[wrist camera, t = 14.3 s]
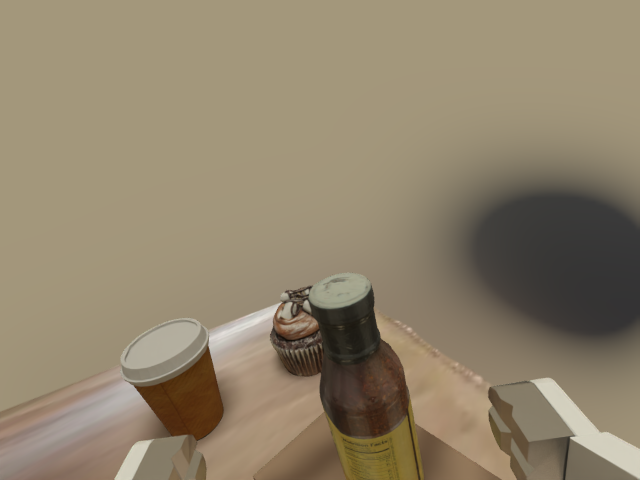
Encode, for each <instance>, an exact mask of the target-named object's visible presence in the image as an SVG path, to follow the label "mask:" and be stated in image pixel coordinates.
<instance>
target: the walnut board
mask: <svg viewBox="0 0 640 480" xmlns="http://www.w3.org/2000/svg"><path fill="white" fill-rule="evenodd" d="M415 428H416V433H417V438H418V444H419V449H420V455H421V461H422V467H423V474H424V480H501V479H500V478H498V477H497V476H495V475H493V474H492V473H490V472H489V471H487V470H486V469H484V468H483V467H481V466H480V465H478V464H477V463H475V462H473V461H472V460H470V459H469V458H467V457H466V456H464V455H463V454H461V453H460V452H458V451H457V450H455V449H453V448H452V447H450V446H449V445H447V444H446V443H444V442H443V441H441V440H440V439H438V438H437V437H435V436H434V435H432V434H430V433H429V432H427V431H426V430H424V429H423V428H421V427H420V426H418V425H417V424H415ZM253 477H254V480H346V478H345V475H344V471H343V468H342V465H341V462H340V459H339V456H338V453H337V449H336V446H335V443H334V440H333V437H332V434H331V430H330V427H329V424H328V420H327V418H326V415H325V412H324V413H322V414H321V415H320V416H319V417H318V418H317V419H316V420H315V421H314V422H312V423H311V424H310V425H309V426H308V427H307V428H306V429H305V430H304V431H302V432H301V433H300V434H299V435H298V436H297V437H296V438H295V439H294V440H292V441H291V442H290V443H289V444H288V445H287V446H286V447H285V448H284V449H282V450H281V451H280V452H279V453H278V454H277V455H276V456H275V457H274V458H272V459H271V460H270V461H269V462H268V463H267V464H266V465H265V466H264V467H262V468H261V469H260V470H259V471H258V472H257V473H256V474H255V475H254V476H253Z"/></svg>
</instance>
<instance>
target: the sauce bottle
mask: <svg viewBox="0 0 640 480" xmlns="http://www.w3.org/2000/svg"><path fill="white" fill-rule="evenodd" d="M308 300H309V304H310V309H311V313H312V316H313V317H314V319H315V320H316V321H317V323H318V326H319V329H320V333H321V336H322V340H323V348H324V355H323V363H322V371H321V380H320V398H321V402H322V405H323V408H324V411H325V415H326V418H327V420H328V424H329V427H330V430H331V434H332V437H333V440H334V443H335V446H336V449H337V453H338V456H339V459H340V462H341V465H342V468H343V471H344V475H345V478H346V480H424V474H423V467H422V461H421V455H420V449H419V444H418V438H417V433H416V428H415V422H414V416H413V411H412V405H411V400H410V395H409V390H408V387H407V385H406V381H405V375H404V370H403V366H402V364H401V362H400V360H399V358H398V356H397V355H396V353H395V352H394V351H393V350H392V348H391V346H390V345H389V344H388V343H386V342H385V341H383V340H382V339H381V338H380V332H379V330H378V328H377V324H376V319H375V313H374V309H373V307H374V293H373V290H372V286H371V283H370V281H369V280H368V279H367V278H366V277H365V276H363V275H360V274H355V273H341V274H337V275H333V276H330V277H328V278H326V279H323V280H321V281H320V282H318V283H316V284H315V285H314V286H313V287H312V288H311V290H310V292H309V297H308Z"/></svg>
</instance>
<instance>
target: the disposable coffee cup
mask: <svg viewBox="0 0 640 480" xmlns="http://www.w3.org/2000/svg"><path fill="white" fill-rule="evenodd" d="M208 342H209V332H208V330H207V329H206V328H205V327H204V326H202V325H201V324H200V323H199V322H198V321H197V320H195V319H192V318H181V319H175V320H171V321H167V322H165V323H162V324H160V325H157V326H155V327H153V328H151V329H149V330H147V331H146V332H144V333H143V334H141V335H140V336H138V337H137V338H136V339H135V340H133V341H132V342H131V343H130V344H129V345H128V347H126V349H125V350H124V352H123V353H122V356H121V370H120V374H121V376H122V377H123V379H124V380H125V381H127V382H129V383H130V384H132V385H134V387H135V388H136V389H137V391H138V392H139V393H140V395H141V396H142V397H143V398H144V400H145V401H146V402H147V403H148V405H149V406H150V407H151V409H152V410H153V411H154V413H155V414H156V415H157V417H158V418H159V419H160V420H161V422H162V423H163V424H164V426H165V427H166V428H167V430H168V431H169V432H170V434H171V435H172V436H173V437H174V436H182V435H193V436H194V438H195V440H199V439H201V438H203V437H204V436H206V435H207V434H209V433H210V432H211V431H212V430H213V429H214V428H215V427H216V426H217V424H218V423H219V421H220V420H221V418H222V415H223V404H222V400H221V396H220V392H219V388H218V384H217V379H216V375H215V371H214V367H213V363H212V359H211V355H210V350H209V346H208Z"/></svg>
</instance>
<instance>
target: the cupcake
mask: <svg viewBox="0 0 640 480" xmlns="http://www.w3.org/2000/svg"><path fill="white" fill-rule="evenodd" d="M312 287H313V286H308V287H303V288H300V289H298V290H295V291H292V290H286V292H284V293H282V294H281V301H282V302H283V303H282V304H281V305H280V306H279V307H278V309H277V311H276V313H275V315H274V318H273V329H272V331H271V334H270V338H271V339H270V341H271V344H272V345H273V347H274V348H275V350H276V351H277V353H278V355H279V356H280V358H281V360H282V361H283V363H284V365H285V367H286V368H287V370H288V371H289V372H291V373H292V374H294V375H297V376H312V375H316V374H318V373H319V372H321V371H322V363H323V355H324V348H323V340H322V336H321V333H320V329H319V326H318V323H317V321H316V320H315V319H314V317H313V316H312V313H311V309H310V304H309V300H308V297H309V292H310V290H311V288H312Z"/></svg>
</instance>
